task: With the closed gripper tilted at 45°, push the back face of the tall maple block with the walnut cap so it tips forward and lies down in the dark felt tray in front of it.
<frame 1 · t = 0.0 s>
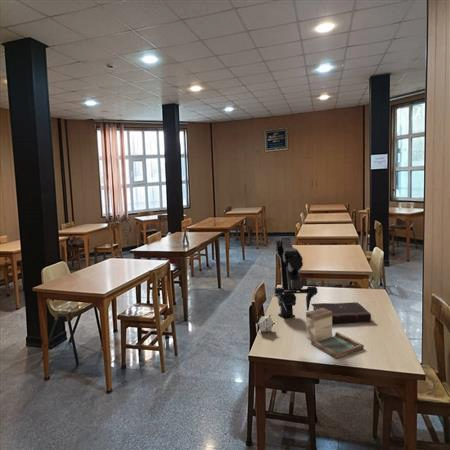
hand: (297, 310, 162), 15 cm above the table, fingers open, 9 cm apart
white spiky ball: (265, 331, 177), on the table
diary: (339, 317, 191), on the table
maple block: (319, 337, 169), on the table
felt tray: (337, 346, 159), on the table
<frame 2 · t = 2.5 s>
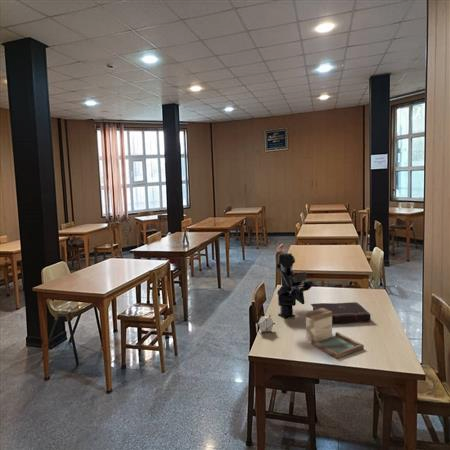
hand: (303, 303, 176), 13 cm above the table, fingers closed
nothing on the table moved.
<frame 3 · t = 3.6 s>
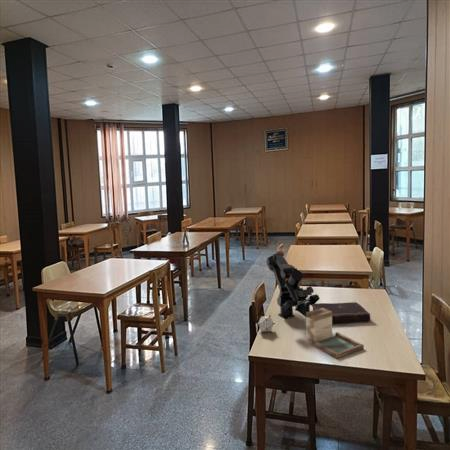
hand: (309, 318, 173), 7 cm above the table, fingers closed
nothing on the table moved.
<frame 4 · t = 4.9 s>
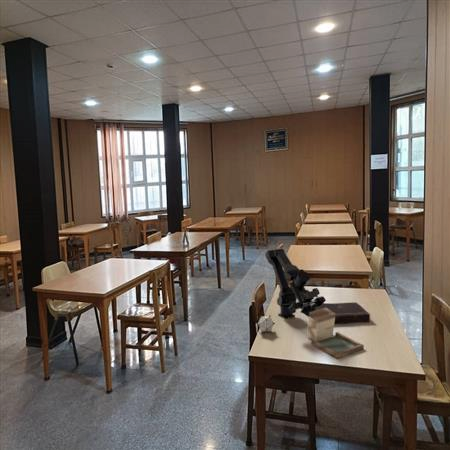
hand: (316, 321, 169), 7 cm above the table, fingers closed, pressing on maple block
maple block: (319, 336, 168), on the table, tilted 9°, touching gripper
everything else where it was.
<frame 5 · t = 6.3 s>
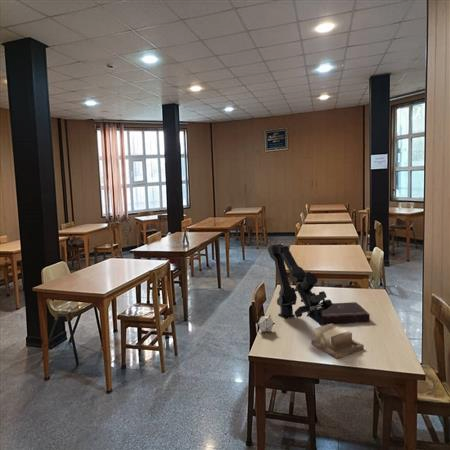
hand: (322, 325, 166), 7 cm above the table, fingers closed
maple block: (323, 332, 166), point 3 cm above the table, tilted 90°, touching felt tray
everything else where it was.
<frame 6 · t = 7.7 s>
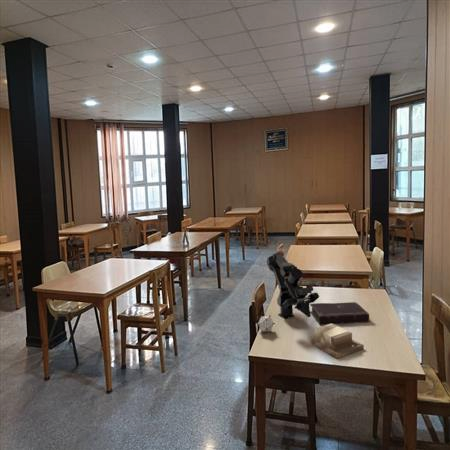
hand: (309, 316, 173), 7 cm above the table, fingers closed
nothing on the table moved.
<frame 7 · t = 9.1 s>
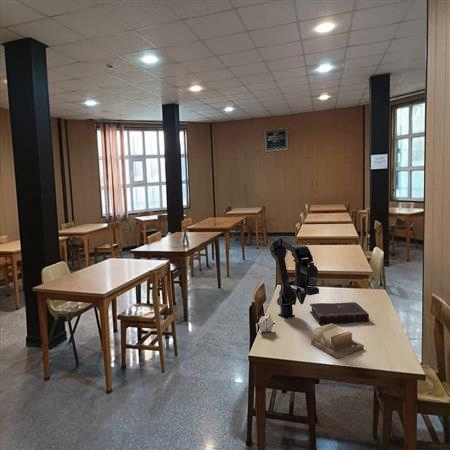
hand: (301, 304, 177), 12 cm above the table, fingers closed
nothing on the table moved.
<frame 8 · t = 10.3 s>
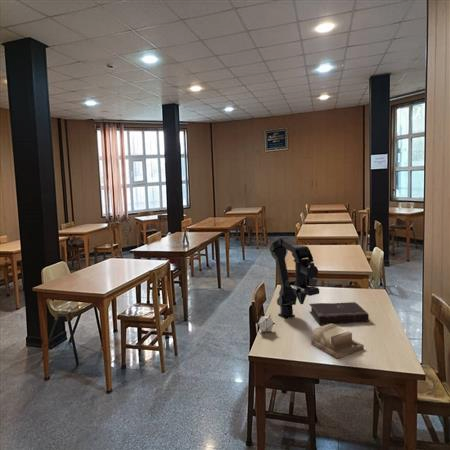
hand: (301, 304, 178), 12 cm above the table, fingers closed
at the end: maple block tilted 90°; maple block inside the target area (1.3 cm from its centre), point 3.3 cm above the table; maple block touching felt tray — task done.
